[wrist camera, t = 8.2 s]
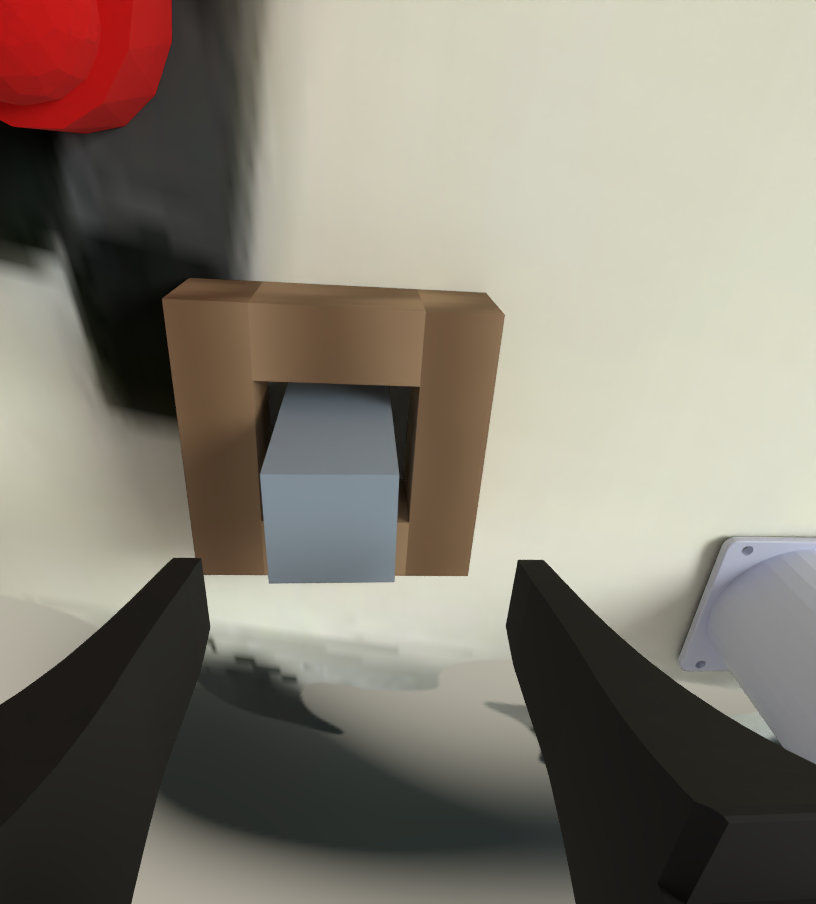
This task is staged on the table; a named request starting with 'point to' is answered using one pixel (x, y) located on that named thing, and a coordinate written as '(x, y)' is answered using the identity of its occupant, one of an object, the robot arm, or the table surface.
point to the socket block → (335, 362)
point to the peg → (331, 486)
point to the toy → (80, 61)
